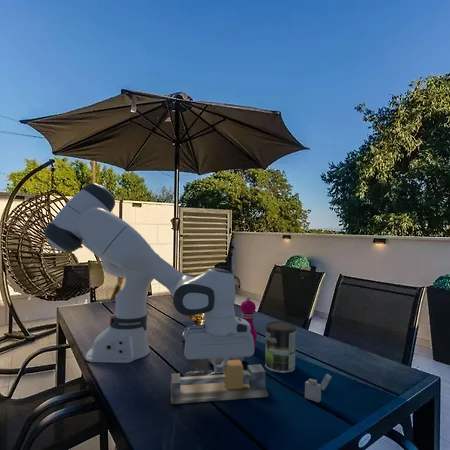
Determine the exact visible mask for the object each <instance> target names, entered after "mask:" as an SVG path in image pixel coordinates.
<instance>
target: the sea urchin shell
mask: <svg viewBox="0 0 450 450" xmlns="http://www.w3.org/2000/svg"><path fill="white" fill-rule="evenodd" d="M245 359H246V358H245V357H228V360H240V361H241V363H242V364H243V362H244V361H245ZM207 361H208V362H209V363H210V364H212V362H211V358H208V359H207ZM222 362H223V358H216V362H215V363H216V365H221V364H222ZM212 365H213V364H212Z"/></svg>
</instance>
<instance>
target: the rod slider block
mask: <svg viewBox="0 0 450 450" xmlns="http://www.w3.org/2000/svg"><path fill="white" fill-rule="evenodd" d="M170 396H171V397H170V404H171V405H175V404H177V405H178V404H188V403H189V404H191V403H201V402H214V401H215V402H216V401H229V400H240V399H241V400H242V399H243V400H245V399H254V398H255V399H256V398H267V397H268V398H269V393H268V391H267V389H266V371H265V369H264V367H263V366H262V364H261V363H260V364H259V363H258V364H257V363H256V364H247V370H246V369H245V370H244V369H243V388H238V389H225V374H224V375H223V374H210V375H209V374H208V375H197V376H195V375H194V376H181V373H179V372H178V373H177V372H176V373H175V372H174V373H171V383H170Z"/></svg>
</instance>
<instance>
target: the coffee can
mask: <svg viewBox="0 0 450 450" xmlns="http://www.w3.org/2000/svg"><path fill="white" fill-rule="evenodd" d="M296 330H297V325H295V324H294V323H291V322H287V321H282V320H281V321H280V320H279V321H278V320H276V321H269V322H266V324H265V362H264V363H265V365H264V366H265V368H266V369H267V370H269V371H271V372H275V373H278V374H279V373H280V374H286V373H292V372H293V371H295V370H296Z"/></svg>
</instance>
